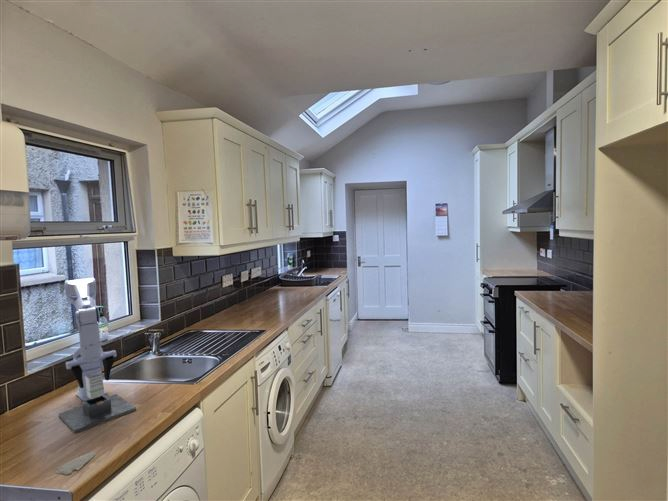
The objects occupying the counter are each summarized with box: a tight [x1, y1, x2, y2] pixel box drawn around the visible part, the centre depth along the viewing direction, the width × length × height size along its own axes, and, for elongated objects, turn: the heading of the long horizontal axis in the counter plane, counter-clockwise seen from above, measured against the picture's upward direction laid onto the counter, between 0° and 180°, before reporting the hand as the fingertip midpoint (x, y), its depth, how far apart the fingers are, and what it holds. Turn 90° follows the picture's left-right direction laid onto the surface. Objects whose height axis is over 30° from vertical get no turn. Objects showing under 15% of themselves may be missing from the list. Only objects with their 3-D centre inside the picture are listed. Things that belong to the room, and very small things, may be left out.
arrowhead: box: [54, 451, 97, 476], centre depth 105 cm, size 7×2×10 cm
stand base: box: [58, 394, 137, 434], centre depth 133 cm, size 18×18×5 cm
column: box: [85, 372, 105, 399], centre depth 132 cm, size 4×4×7 cm
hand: (94, 383), depth 132 cm, fingers open, 7 cm apart
